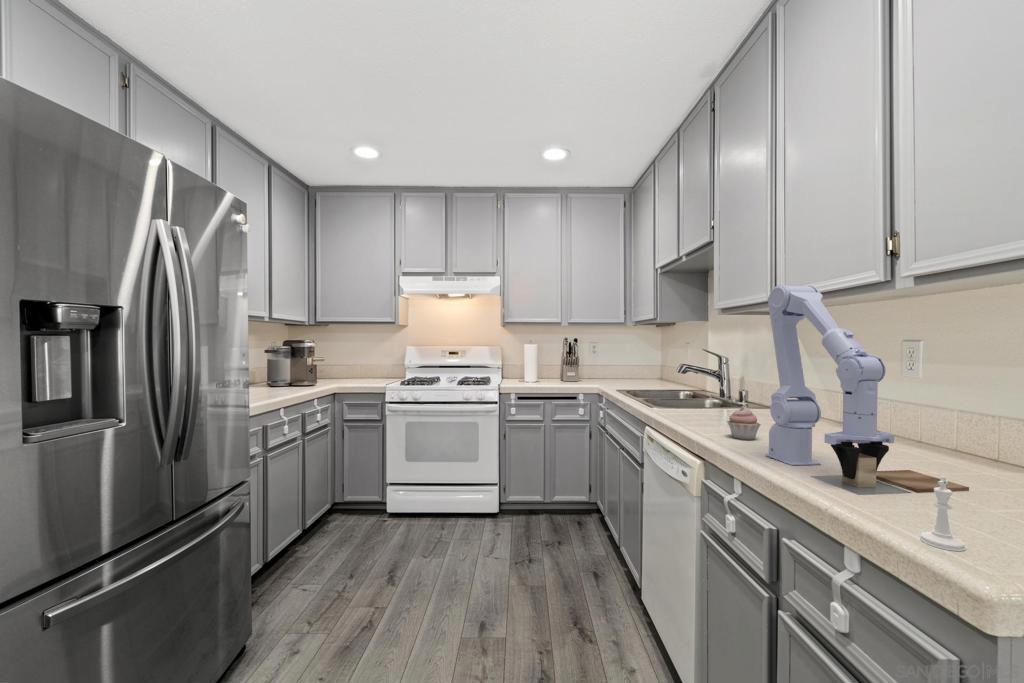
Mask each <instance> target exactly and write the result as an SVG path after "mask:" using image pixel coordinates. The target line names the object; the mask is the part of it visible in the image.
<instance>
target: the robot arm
mask: <svg viewBox="0 0 1024 683" xmlns="http://www.w3.org/2000/svg"><path fill="white" fill-rule="evenodd" d="M823 299H824V296H823V294H822V293H821V292H820V290H819V289H818V288H817V287H816V286H814V285H805V286H804V285H803V286H802V285H783V284H779V285H776V286H775V287H773V288H772V290H771V291H770V293H769V295H768V297H767V304H768V310H769V319H770V324H771V330H772V338H773V346H774V352H775V357H776V358H775V359H776V368H777V373H778V380H779V381H778V382H779V388H778V389H777V390H776V391H774V392H773V393H772V394H771V395H770V398H771V399H770V400H771V405H770V408H769V410H770V416H771V418H772V420H773V421H774V424H772V425H771V426H770V429H769V430H768V453H765V456H766V457H768V458H772V459H774V460H777V461H779V462H781V463H785V464H786V465H790V466H813V465H819V466H820V465H821V464H822V462H820V461H817V460H815V459H813V428H815V427H816V424H817V423H818V422H819V421H820V419H821V416H822V409H821V406H820V405H819V403H818V401H817V398H816V394H815V393H814V392H813V391H812V390H811V389H810V388H808V387H807V386H806V383H805V382H806V381H805V377H804V376H805V375H804V371H803V370H804V369H803V363H802V357H801V356H802V355H801V351H800V344H799V336H798V331H797V325H798V324H799V322H800V321H803V320H804V319H805V318H806V319H807V320H808V321H809V323H811V324H812V326H813V327H815V329H816V330H817V331H818V332H819V333H820V334H821V335H822V338H821V345H822V346H823V347H824V349H825V350H826V352H827V353H828V354H829V356H830V357H831V358H832V359H833V361H834V362H835V364H836V366H837V368H835V373H836V376H837V379H838V380H839V382H840V388H841V390H842V393H843V394H842V431H835V432H830V433H824V443H825V444H828V445H830V447H831V449H832V450H833V451H834V453H835V454H836V456H837V458H838V462H839V464H840V468H841V472H843V475H844V477H847V478H850V479H855V476H856V466H857V460H858V457H859V454H860V453H861V454H864V455H868V456H872V457H875V458H876V472H877V471H878V469H879V466H880V463H881V462H882V460H883V458H884V457H885V456H886V454H887V453H888V452H889V451H890V450H889V448H890V447H889V445H886V444H887V443H888V444H895V434H894V433H890V432H886V431H885V432H884V431H883V432H882V431H881V432H880V431H879V432H878V387H879V386H878V384H879V382H882V380H884V378H885V376H886V366H885V364H884V362H883V359H882V358H881V357H880V356H877V355H872V354H871V353H870V352H867V350H866V349H865V348H863V346H862V345H861V344H860V342H858V340H857V339H856V338H855V333H853V332H852V330H849V329H846V328H840V327H839V326H838V324H837V323H836V321H835V319H834V318H833V317H832V315H831V314H830V313H829V310H828V309H827V308H826V306H825V305H824V303H823V301H824V300H823ZM855 444H857V446H858V447H857V446H855Z"/></svg>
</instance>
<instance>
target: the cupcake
mask: <svg viewBox="0 0 1024 683" xmlns="http://www.w3.org/2000/svg"><path fill="white" fill-rule="evenodd" d="M726 422H727V424H728V426H729V429H730V432H731V433H730V434H731V437H732V438H733V439H736V440H737V439H738V440H742V441H753V440H755V439H756V437H757V433H758V431H759V428H760V427H761V424H760V423H759V422H758V418H757V416H756V415H755V413H753V411H752V410H751V409H749V407H746V406H744V405H742V406H741V407H740V409H738V410H734V411H733V412H732V414H731V415H730V416H729V420H726Z"/></svg>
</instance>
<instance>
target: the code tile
mask: <svg viewBox="0 0 1024 683" xmlns="http://www.w3.org/2000/svg"><path fill="white" fill-rule="evenodd" d="M810 477H811V478H814V479H816V480H819V481H822V482H823V483H827V484H829V485H831V486H834V487H837V488H839V489H841V490H845V491H846V492H849V493H852V494H855V495H857V496H869V495H872V496H873V495H895V494H896V495H897V494H912V491H909V490H907V489H904V488H901V487H898V486H895V485H892V484H889V483H886V482H883V481H880V480H876V487H856V486H853V485H851V484H848V483H845V482H843V481H842V474H841V475H840V474H838V475H837V474H836V475H810Z"/></svg>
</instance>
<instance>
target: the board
mask: <svg viewBox="0 0 1024 683" xmlns="http://www.w3.org/2000/svg"><path fill="white" fill-rule="evenodd" d="M876 481H879V482H882V483H885V484H888V485H891V486H894V487H897V488H900V489H903V490H906V491H909V492H912V493H916V494H922V493H925V494H926V493H935V492H934V488H937V487H940V485H939V484H938V481H940V477H939V478H938V477H935V476H933V475H928V474H926V473H921V472H918V471H914V470H911V469H904V470H903V469H900V470H898V469H897V470H877V472H876ZM947 481H948V484H946V488H947V489H949V490H951V491H952V493H953V492H969V491H970V487H969V486H966V485H963V484H959V483H956V482H952V481H949V480H947Z"/></svg>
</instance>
